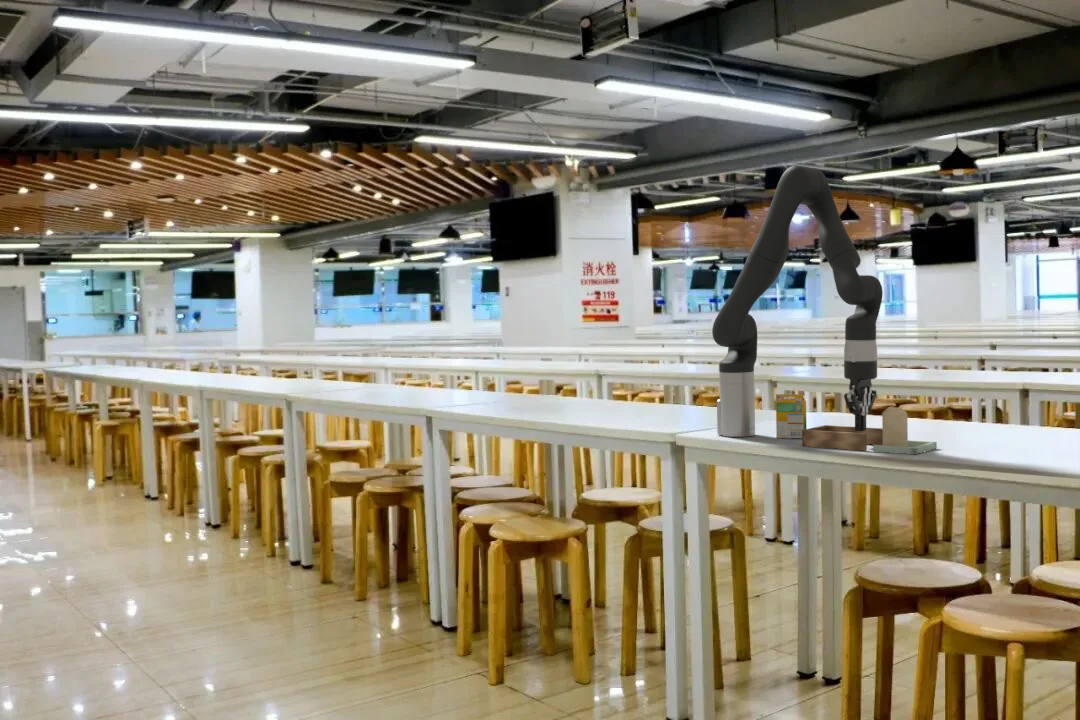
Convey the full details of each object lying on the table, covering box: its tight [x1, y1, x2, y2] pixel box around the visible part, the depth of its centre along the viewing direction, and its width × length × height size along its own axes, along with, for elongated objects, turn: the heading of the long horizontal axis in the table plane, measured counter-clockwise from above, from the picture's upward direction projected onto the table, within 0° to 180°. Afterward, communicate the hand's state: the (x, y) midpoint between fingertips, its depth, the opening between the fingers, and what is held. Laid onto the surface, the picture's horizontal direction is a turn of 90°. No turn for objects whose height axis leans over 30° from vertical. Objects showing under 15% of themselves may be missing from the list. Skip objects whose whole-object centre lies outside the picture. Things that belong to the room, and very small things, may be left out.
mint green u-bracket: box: [872, 439, 938, 455], centre depth 224 cm, size 10×12×2 cm
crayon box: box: [775, 393, 808, 440], centre depth 252 cm, size 7×3×12 cm, turn 62°
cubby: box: [801, 424, 883, 452], centre depth 235 cm, size 16×12×4 cm
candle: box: [881, 406, 909, 447], centre depth 226 cm, size 6×6×10 cm
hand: (860, 430), depth 232 cm, fingers closed
